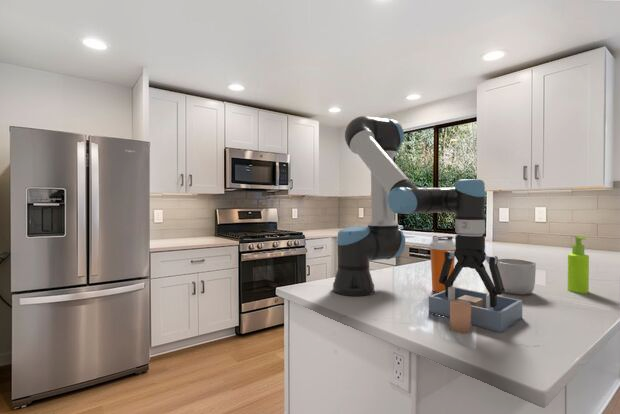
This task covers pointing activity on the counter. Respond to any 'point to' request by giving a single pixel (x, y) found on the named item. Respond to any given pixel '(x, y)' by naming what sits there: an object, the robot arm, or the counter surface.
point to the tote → (481, 309)
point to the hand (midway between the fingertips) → (469, 313)
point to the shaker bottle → (440, 259)
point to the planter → (517, 275)
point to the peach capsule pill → (460, 316)
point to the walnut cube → (472, 300)
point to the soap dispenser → (578, 268)
